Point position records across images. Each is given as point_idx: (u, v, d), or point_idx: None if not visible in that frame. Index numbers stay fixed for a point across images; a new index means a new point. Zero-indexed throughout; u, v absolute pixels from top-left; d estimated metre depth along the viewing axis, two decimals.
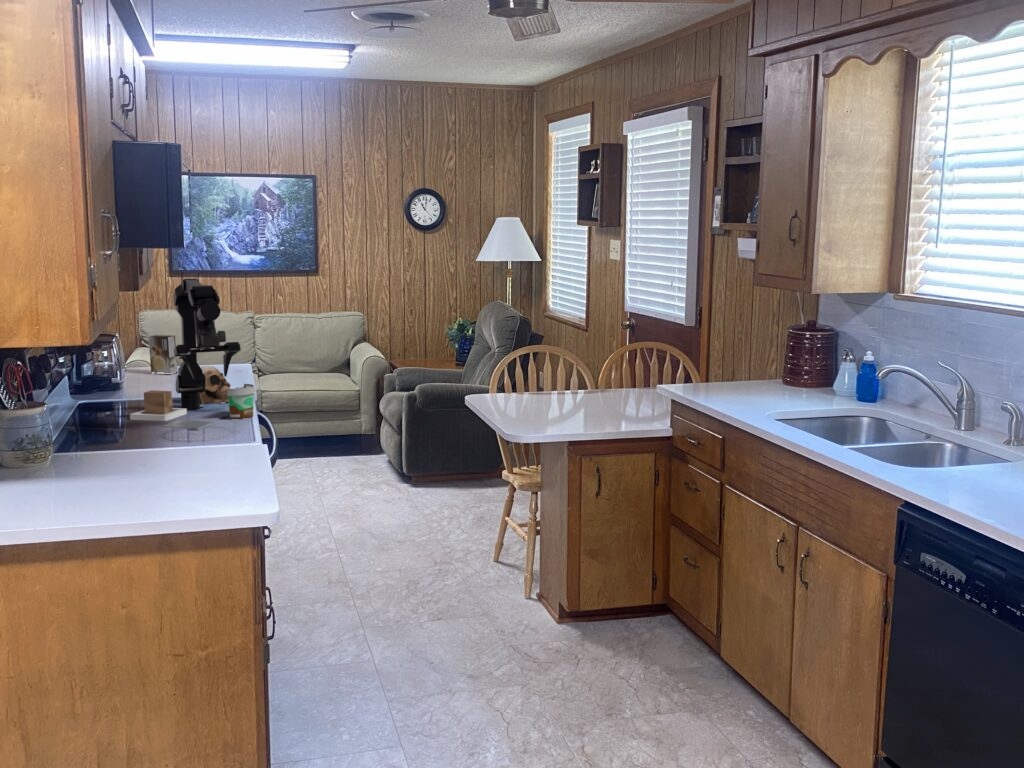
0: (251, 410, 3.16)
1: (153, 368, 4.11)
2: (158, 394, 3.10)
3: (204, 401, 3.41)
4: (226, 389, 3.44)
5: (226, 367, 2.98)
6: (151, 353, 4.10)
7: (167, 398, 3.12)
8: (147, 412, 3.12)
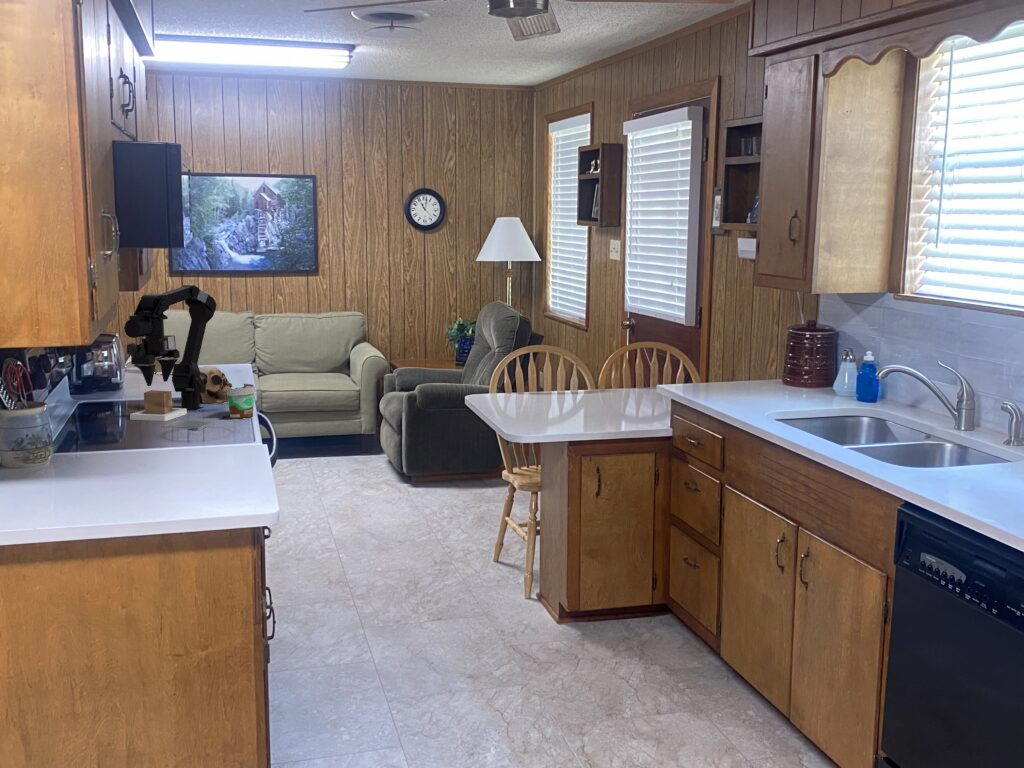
0: (251, 410, 3.16)
1: None
2: (158, 394, 3.10)
3: (206, 401, 3.41)
4: None
5: None
6: None
7: (167, 398, 3.12)
8: (147, 412, 3.12)
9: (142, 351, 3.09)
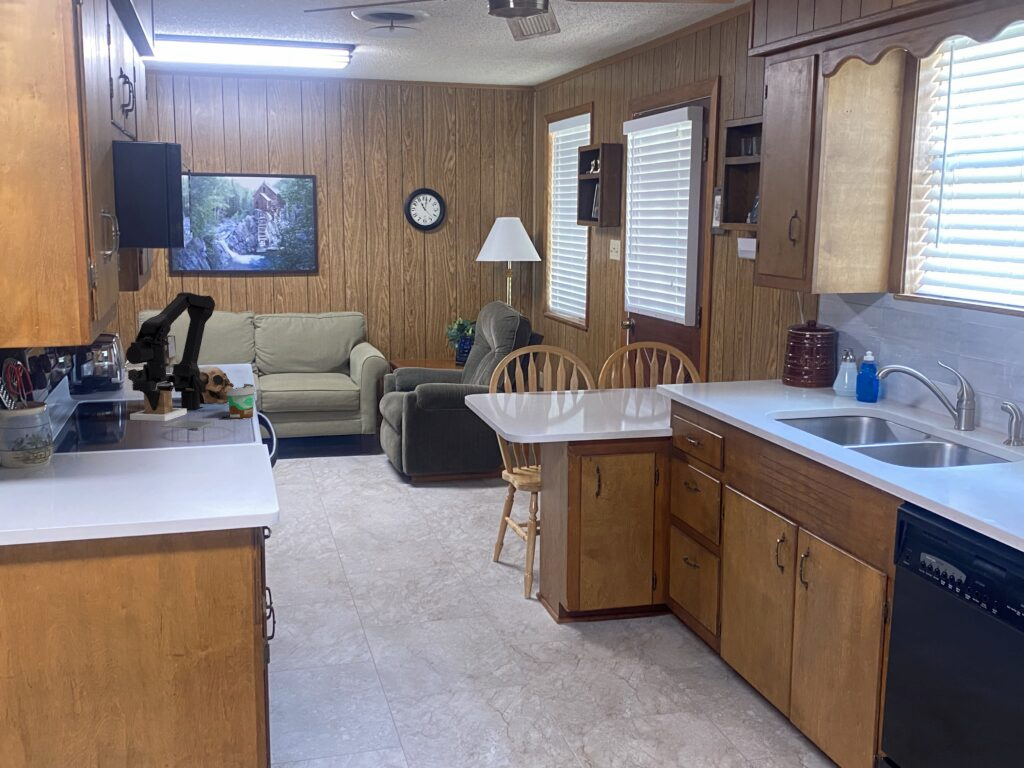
0: (251, 410, 3.16)
1: None
2: None
3: (207, 401, 3.41)
4: None
5: None
6: None
7: (167, 398, 3.12)
8: (147, 412, 3.12)
9: (143, 377, 3.10)
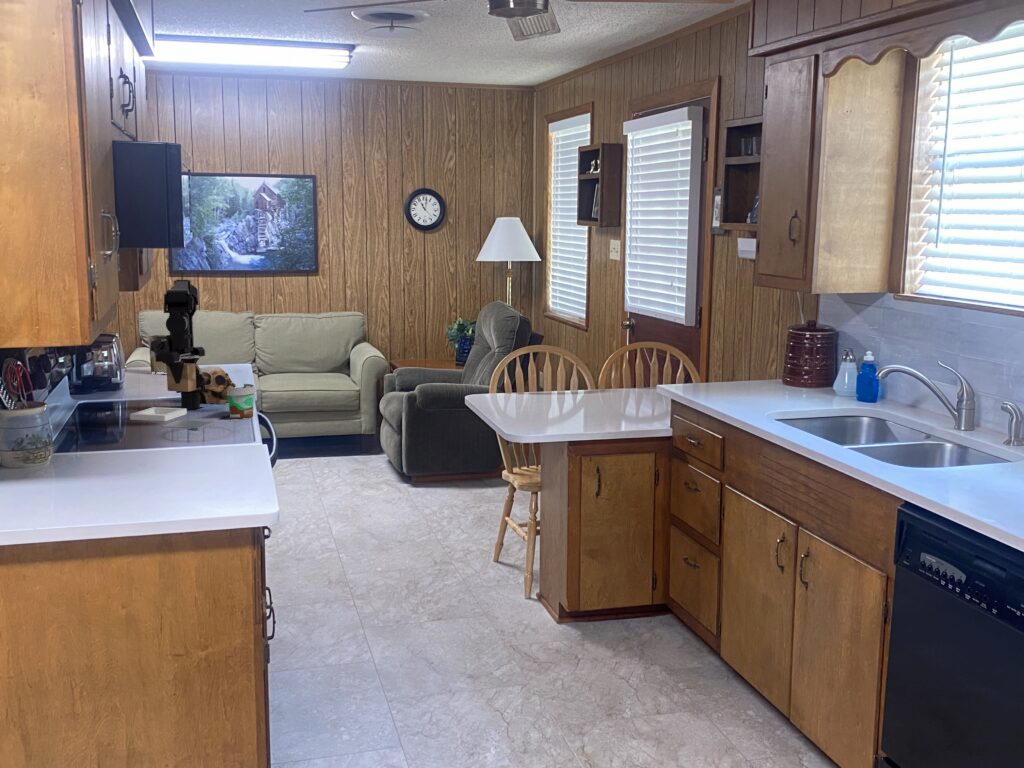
0: (251, 410, 3.16)
1: (153, 368, 4.11)
2: None
3: (209, 401, 3.40)
4: None
5: None
6: (151, 353, 4.10)
7: (191, 370, 2.99)
8: (170, 385, 2.99)
9: (166, 348, 2.97)
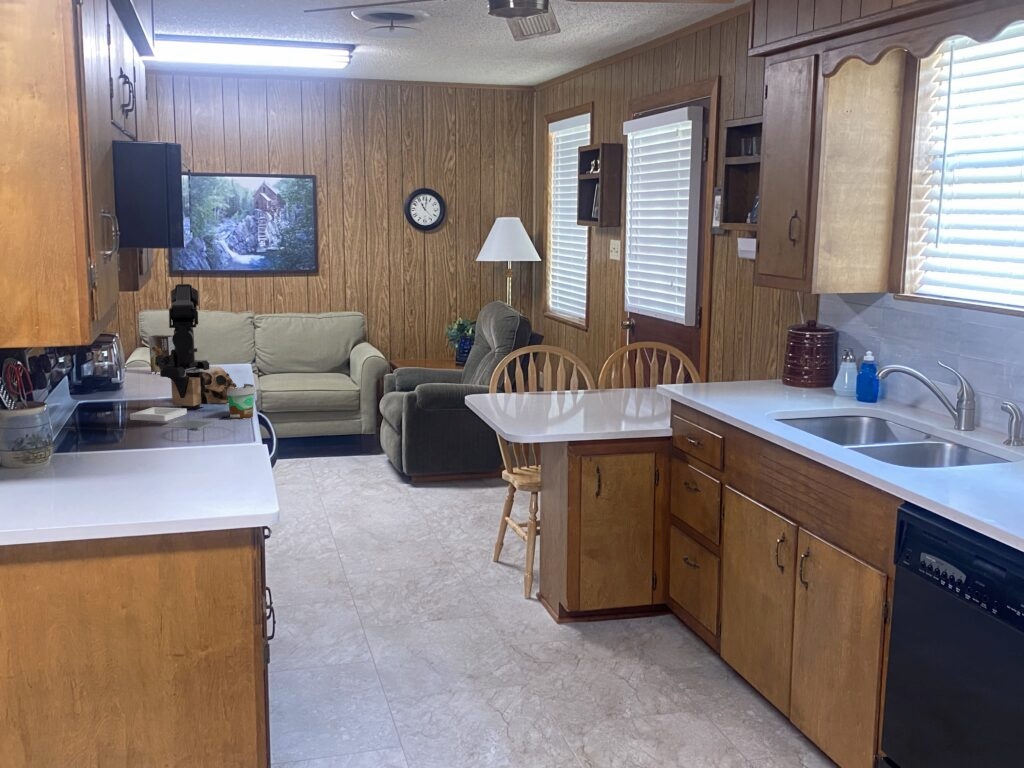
0: (251, 410, 3.16)
1: (153, 368, 4.11)
2: None
3: (210, 401, 3.40)
4: None
5: None
6: (151, 353, 4.10)
7: (196, 385, 2.98)
8: (175, 399, 2.98)
9: (171, 363, 2.96)
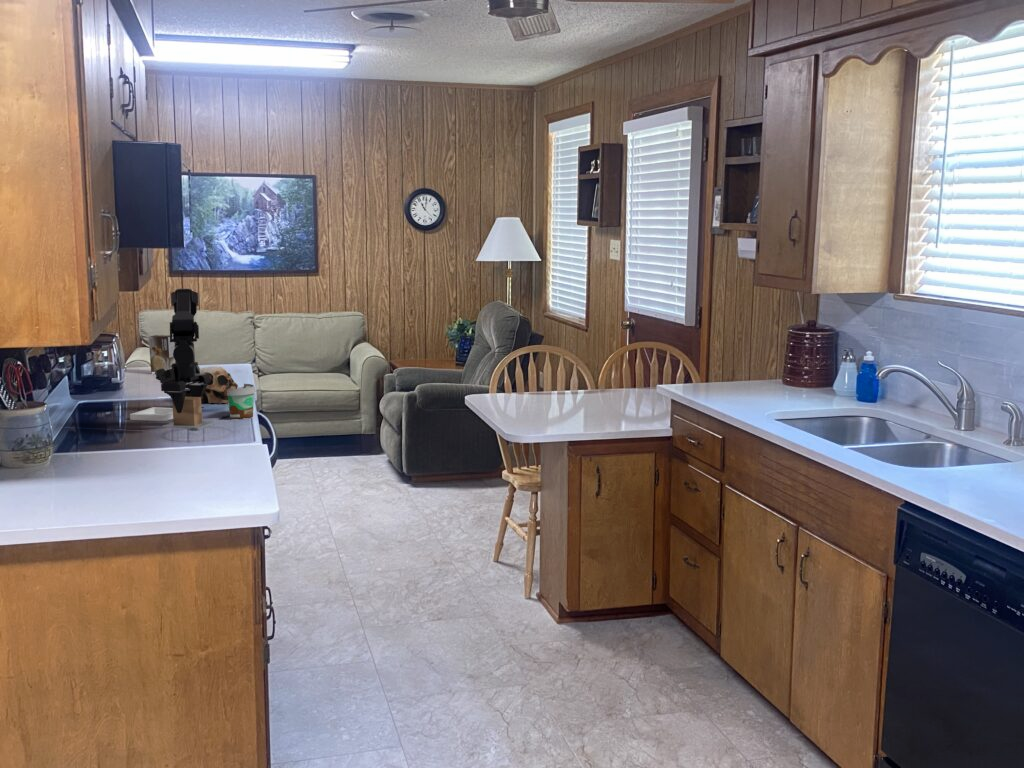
0: (251, 410, 3.16)
1: (153, 368, 4.11)
2: (187, 400, 2.97)
3: (212, 401, 3.40)
4: None
5: None
6: (151, 353, 4.10)
7: (197, 404, 2.99)
8: (176, 419, 2.99)
9: (172, 377, 2.97)
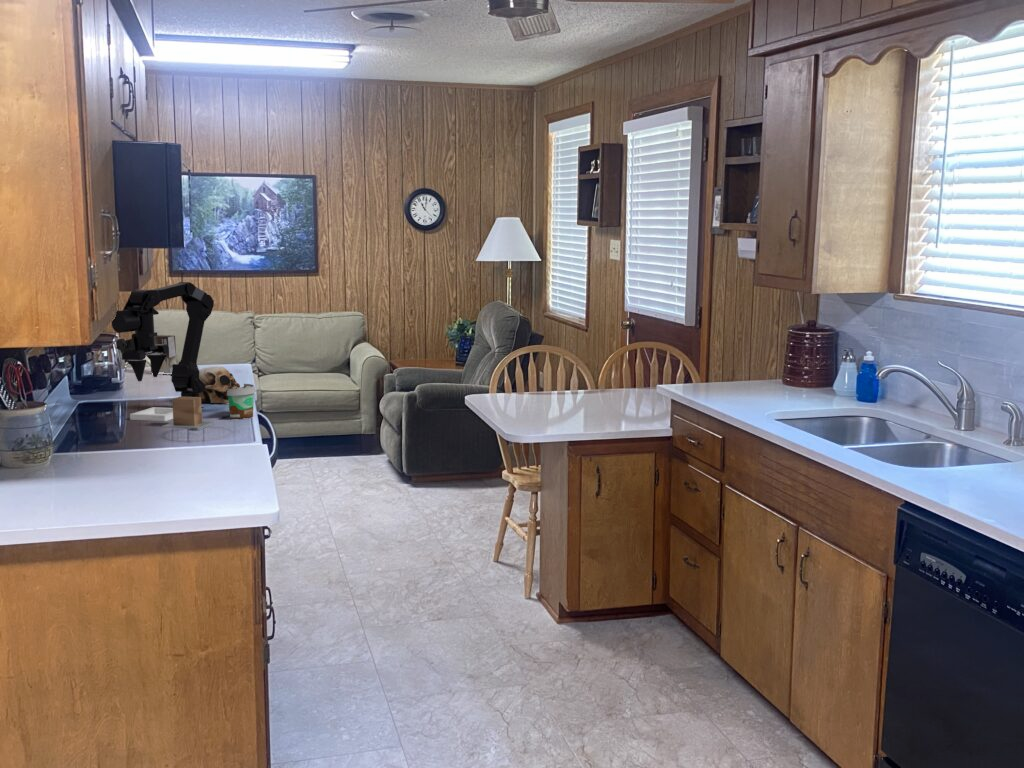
0: (251, 410, 3.16)
1: None
2: (187, 400, 2.97)
3: (214, 401, 3.40)
4: None
5: None
6: None
7: (197, 404, 2.99)
8: (176, 419, 2.99)
9: (132, 346, 3.07)
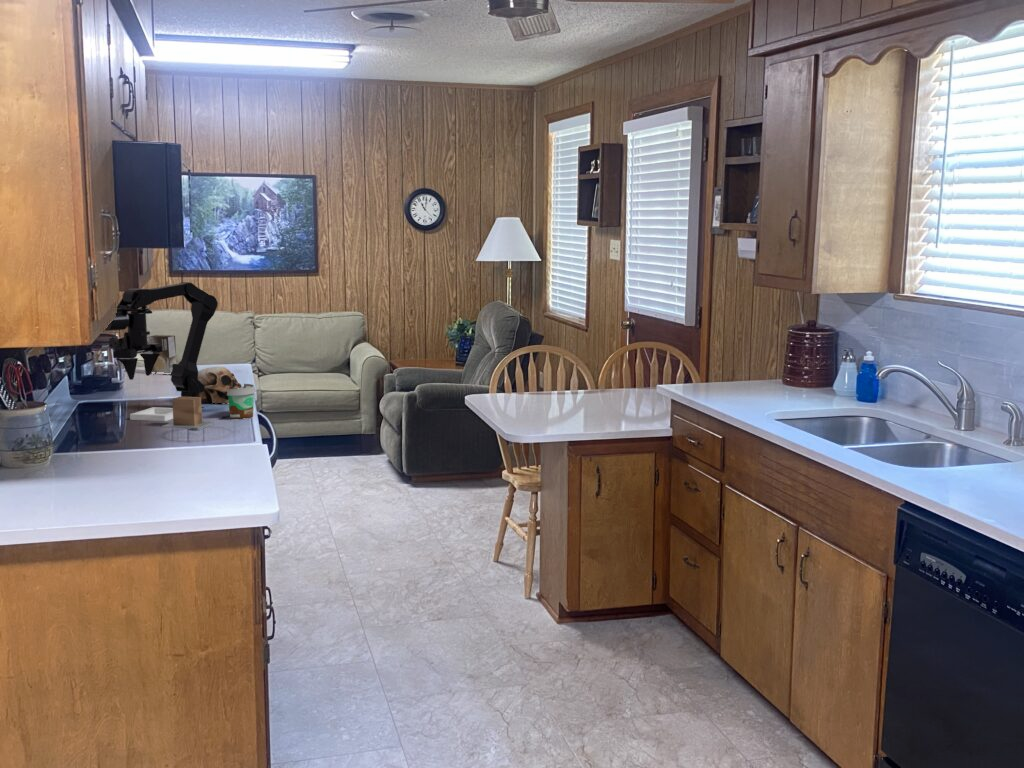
0: (251, 410, 3.16)
1: (153, 368, 4.11)
2: (187, 400, 2.97)
3: (215, 402, 3.40)
4: None
5: None
6: None
7: (197, 404, 2.99)
8: (176, 419, 2.99)
9: (124, 345, 3.09)
